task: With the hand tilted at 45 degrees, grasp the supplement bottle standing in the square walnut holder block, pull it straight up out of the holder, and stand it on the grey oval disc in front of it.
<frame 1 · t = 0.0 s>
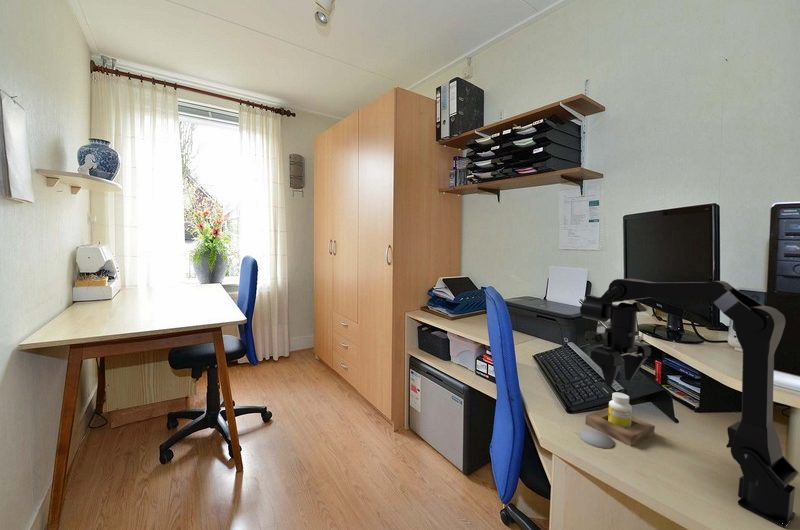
hand: (618, 383, 90), 15 cm above the table, tool pointing down, fingers open, 9 cm apart
supplement bottle: (618, 429, 94), resting in holder block
holder block: (618, 429, 94), on the table
grey oval disc: (595, 439, 89), on the table
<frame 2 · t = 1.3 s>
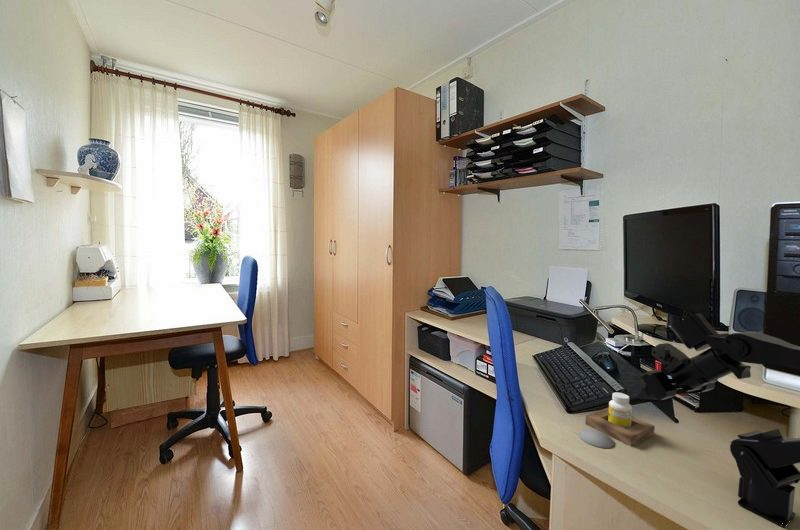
hand: (651, 394, 86), 13 cm above the table, tool tilted 45°, fingers open, 9 cm apart
nothing on the table moved.
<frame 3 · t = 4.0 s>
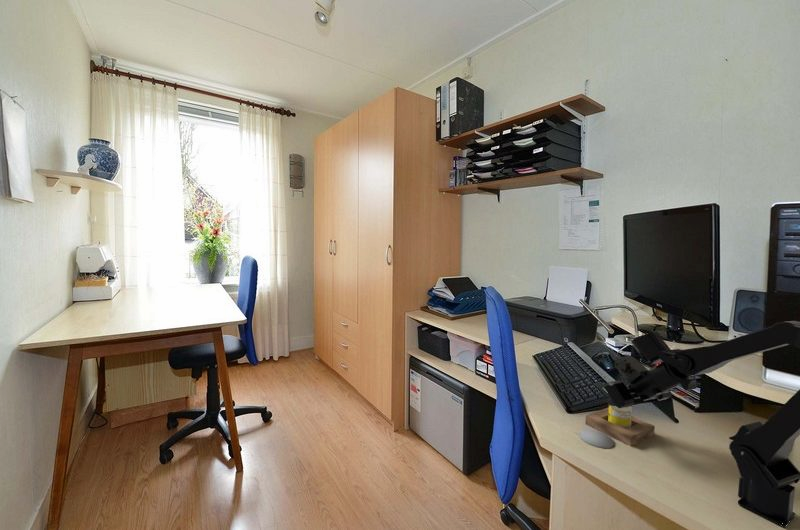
hand: (615, 402, 95), 7 cm above the table, tool tilted 45°, fingers closed on supplement bottle, 5 cm apart
supplement bottle: (618, 429, 94), resting in holder block, touching gripper
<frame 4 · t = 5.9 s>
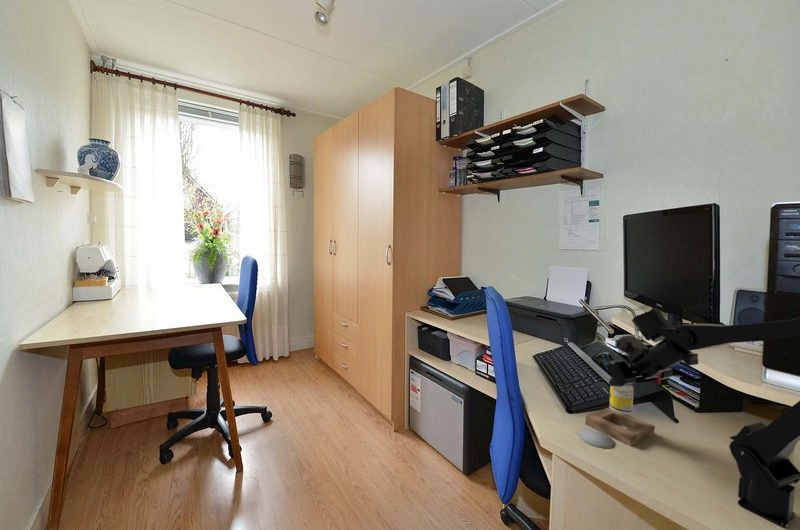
hand: (617, 383, 95), 13 cm above the table, tool tilted 45°, fingers closed on supplement bottle, 5 cm apart
supplement bottle: (620, 410, 94), point 5 cm above the table, touching gripper
when the fingers open (8 cm above the table, at t = 8.3 s): supplement bottle stays where it is, resting on grey oval disc.
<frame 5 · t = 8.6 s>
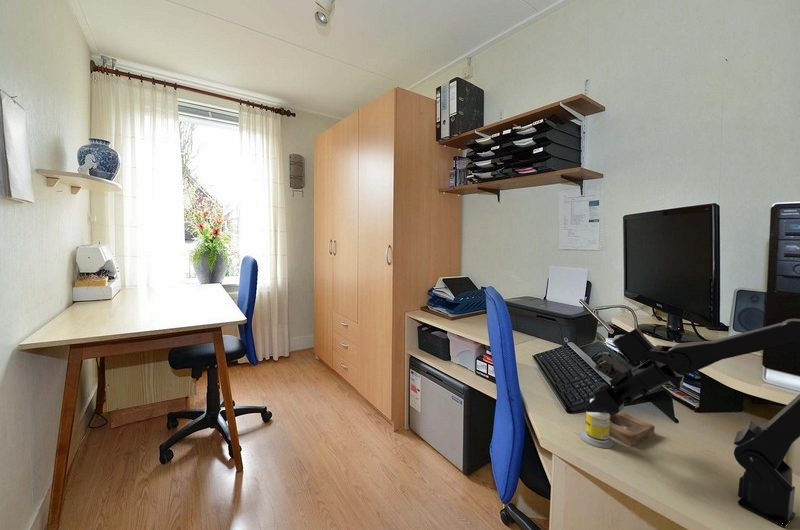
hand: (592, 405, 90), 9 cm above the table, tool tilted 45°, fingers open, 8 cm apart
supplement bottle: (596, 438, 89), resting on grey oval disc
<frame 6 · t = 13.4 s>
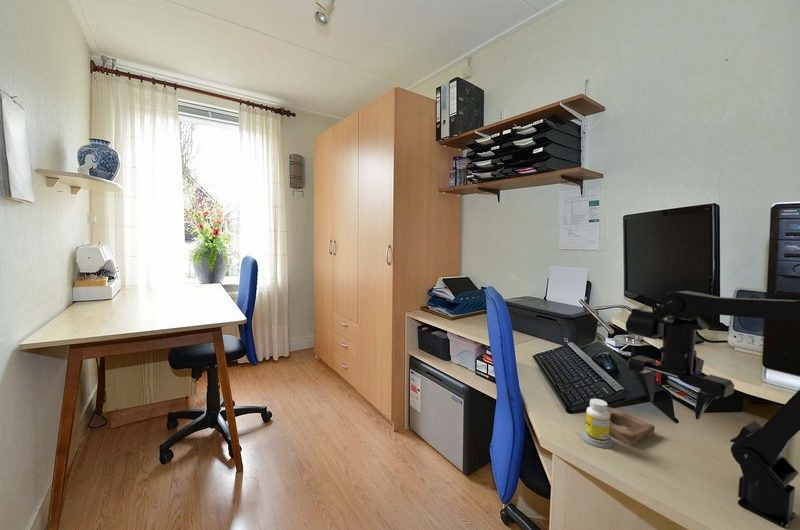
hand: (673, 409, 79), 13 cm above the table, tool pointing down, fingers open, 9 cm apart
nothing on the table moved.
at the end: supplement bottle 0.2 cm off-centre on the grey oval disc, point 0.2 cm above the grey oval disc's base; supplement bottle tilted 0°; the gripper is holding nothing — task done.
